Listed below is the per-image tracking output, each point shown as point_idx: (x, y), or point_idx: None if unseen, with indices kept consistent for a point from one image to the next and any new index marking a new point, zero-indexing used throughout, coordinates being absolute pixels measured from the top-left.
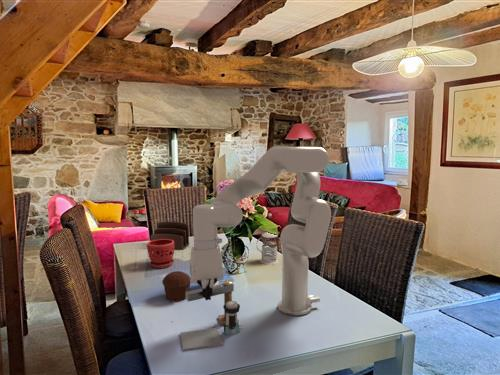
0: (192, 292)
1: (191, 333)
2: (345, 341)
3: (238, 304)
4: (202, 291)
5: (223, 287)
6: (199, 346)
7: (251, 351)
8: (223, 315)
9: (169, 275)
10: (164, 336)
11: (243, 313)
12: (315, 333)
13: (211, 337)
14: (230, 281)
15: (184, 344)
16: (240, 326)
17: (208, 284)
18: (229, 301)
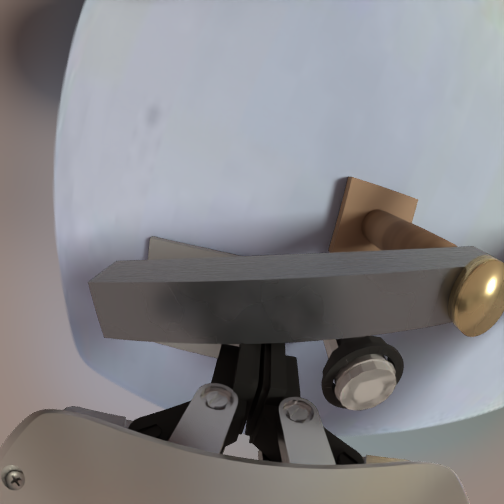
0: (136, 321)
1: None
2: (474, 412)
3: (399, 374)
4: (216, 364)
5: (423, 324)
6: (191, 351)
7: (319, 409)
8: (371, 192)
9: None
10: (103, 223)
11: (445, 198)
12: (474, 382)
13: None
14: (500, 298)
15: None
16: None
17: (263, 435)
18: (373, 372)
